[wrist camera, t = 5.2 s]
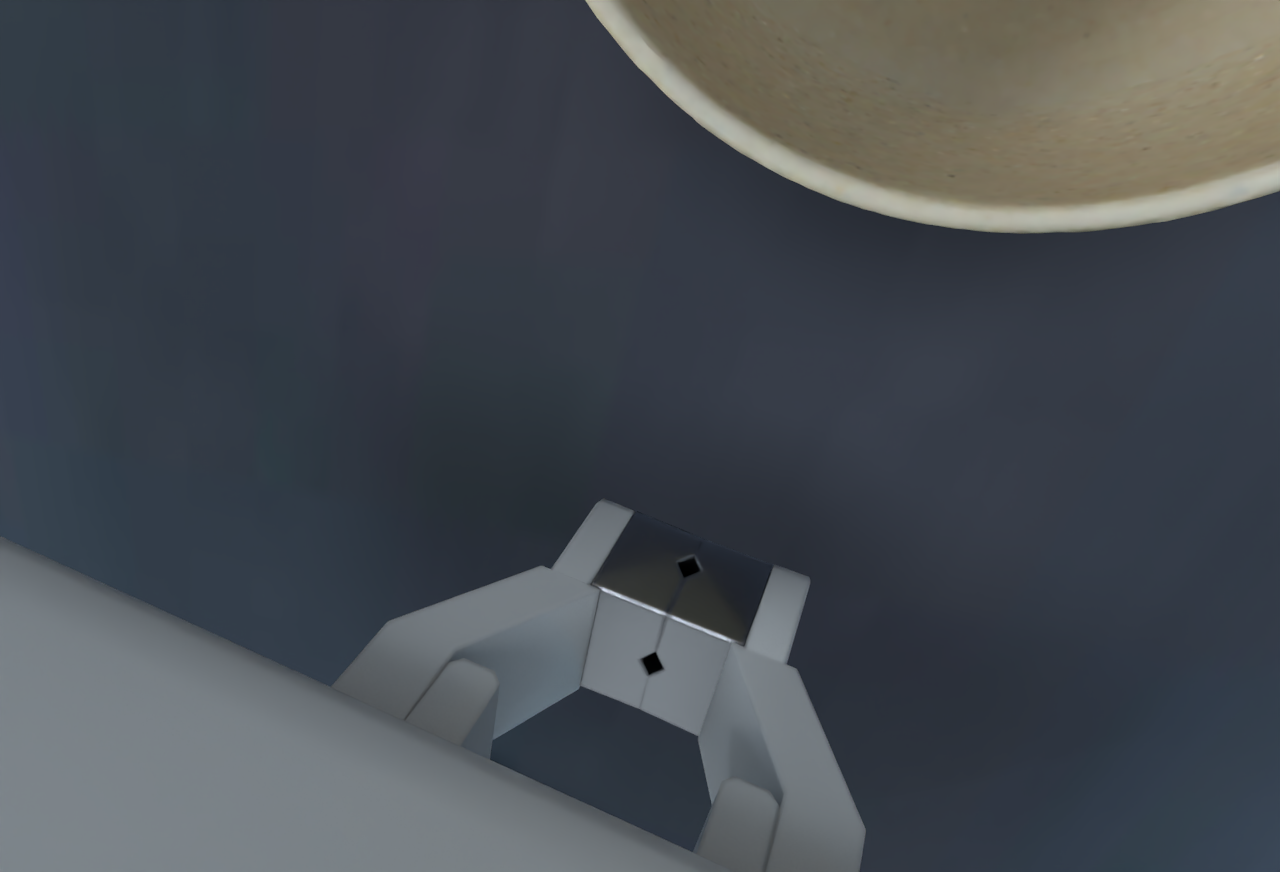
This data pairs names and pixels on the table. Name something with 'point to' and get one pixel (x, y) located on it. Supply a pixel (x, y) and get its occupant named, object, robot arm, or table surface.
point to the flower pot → (981, 101)
